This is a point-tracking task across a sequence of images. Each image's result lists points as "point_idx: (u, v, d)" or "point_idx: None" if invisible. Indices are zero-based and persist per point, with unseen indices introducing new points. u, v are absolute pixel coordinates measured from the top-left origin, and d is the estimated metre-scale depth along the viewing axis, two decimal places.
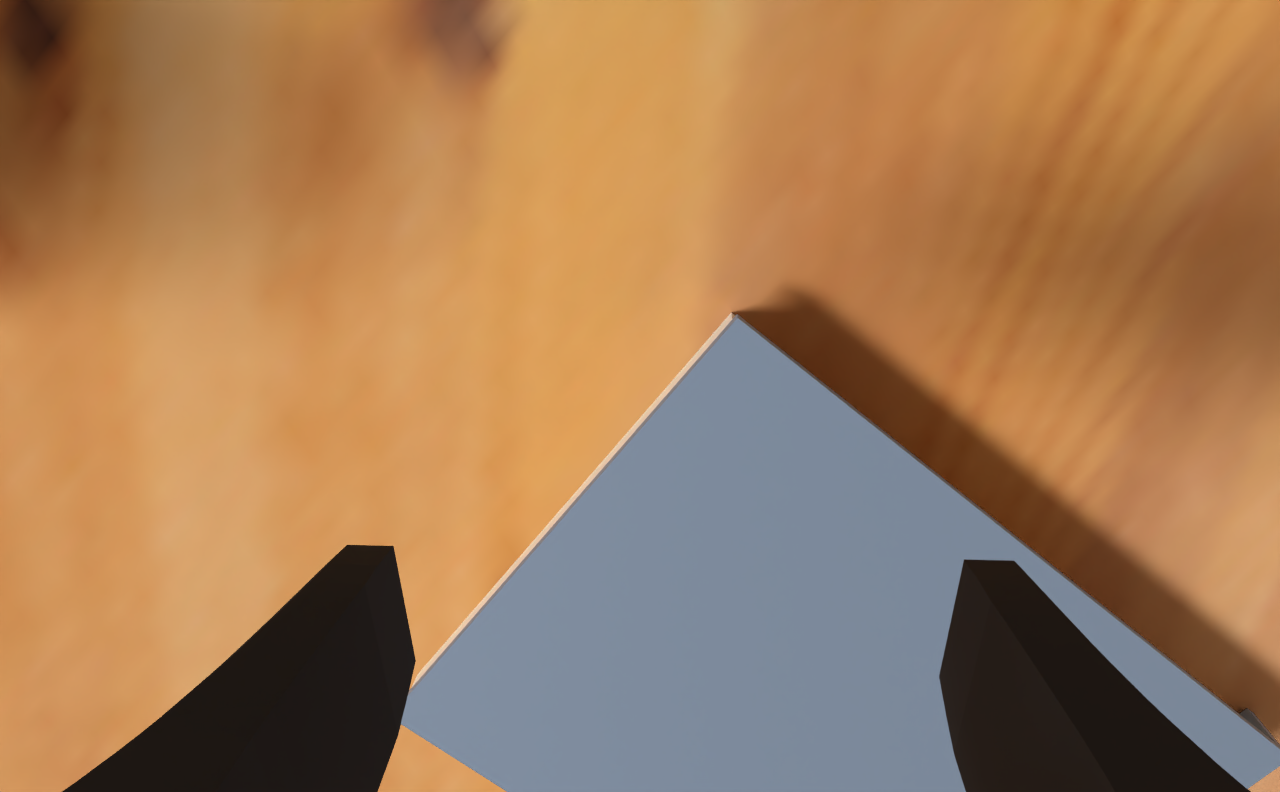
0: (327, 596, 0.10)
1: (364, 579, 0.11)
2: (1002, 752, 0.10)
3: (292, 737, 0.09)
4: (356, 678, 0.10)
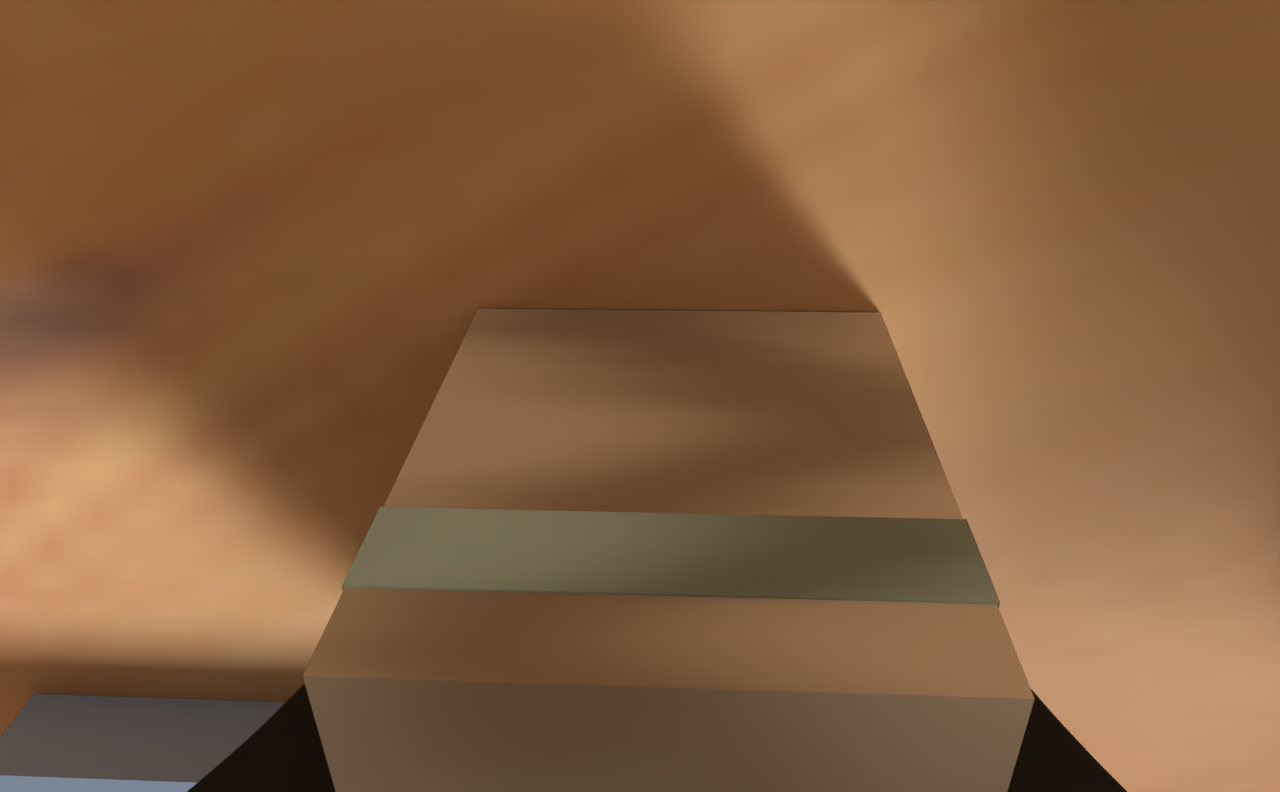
0: None
1: None
2: None
3: None
4: None
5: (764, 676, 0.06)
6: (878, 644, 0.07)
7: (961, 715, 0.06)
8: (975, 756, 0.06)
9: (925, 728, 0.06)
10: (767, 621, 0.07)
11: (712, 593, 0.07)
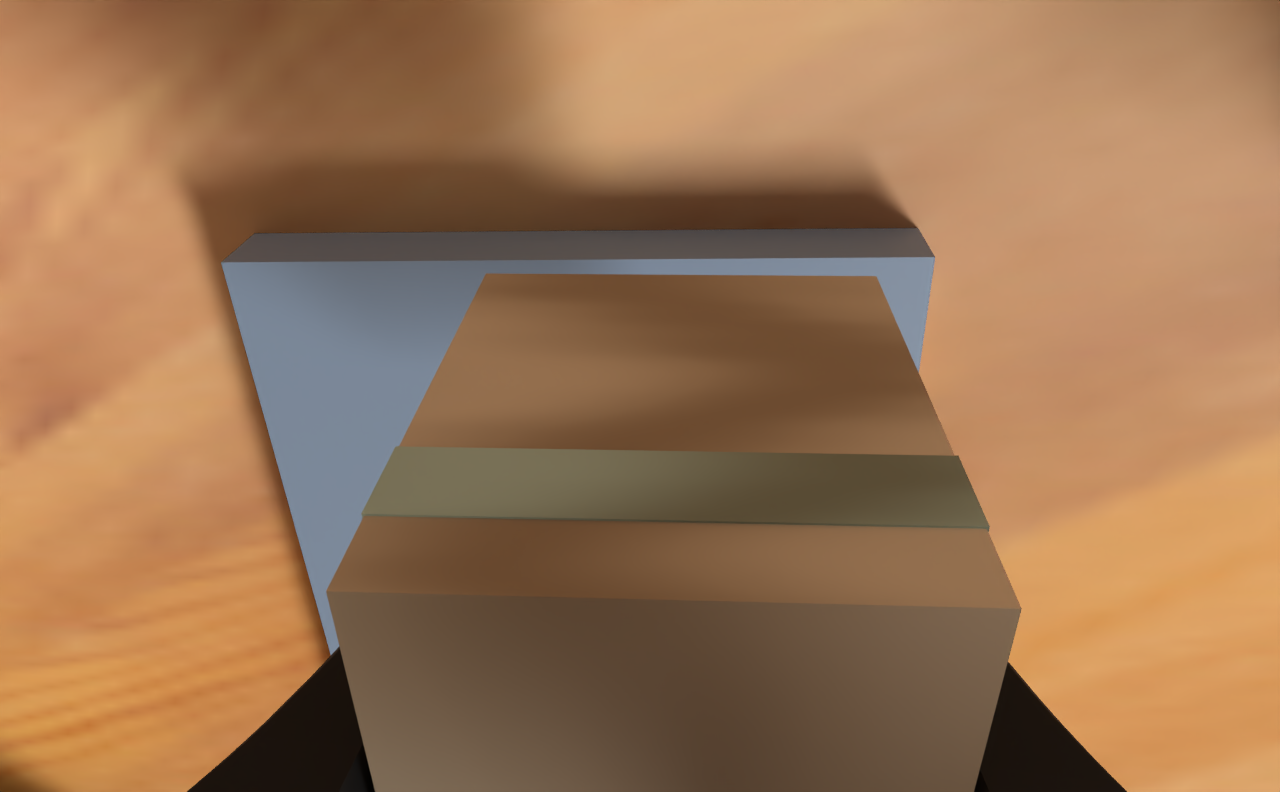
0: None
1: None
2: None
3: None
4: None
5: (764, 589, 0.07)
6: (873, 562, 0.07)
7: (953, 626, 0.07)
8: (967, 668, 0.07)
9: (918, 639, 0.07)
10: (768, 543, 0.07)
11: (717, 521, 0.07)
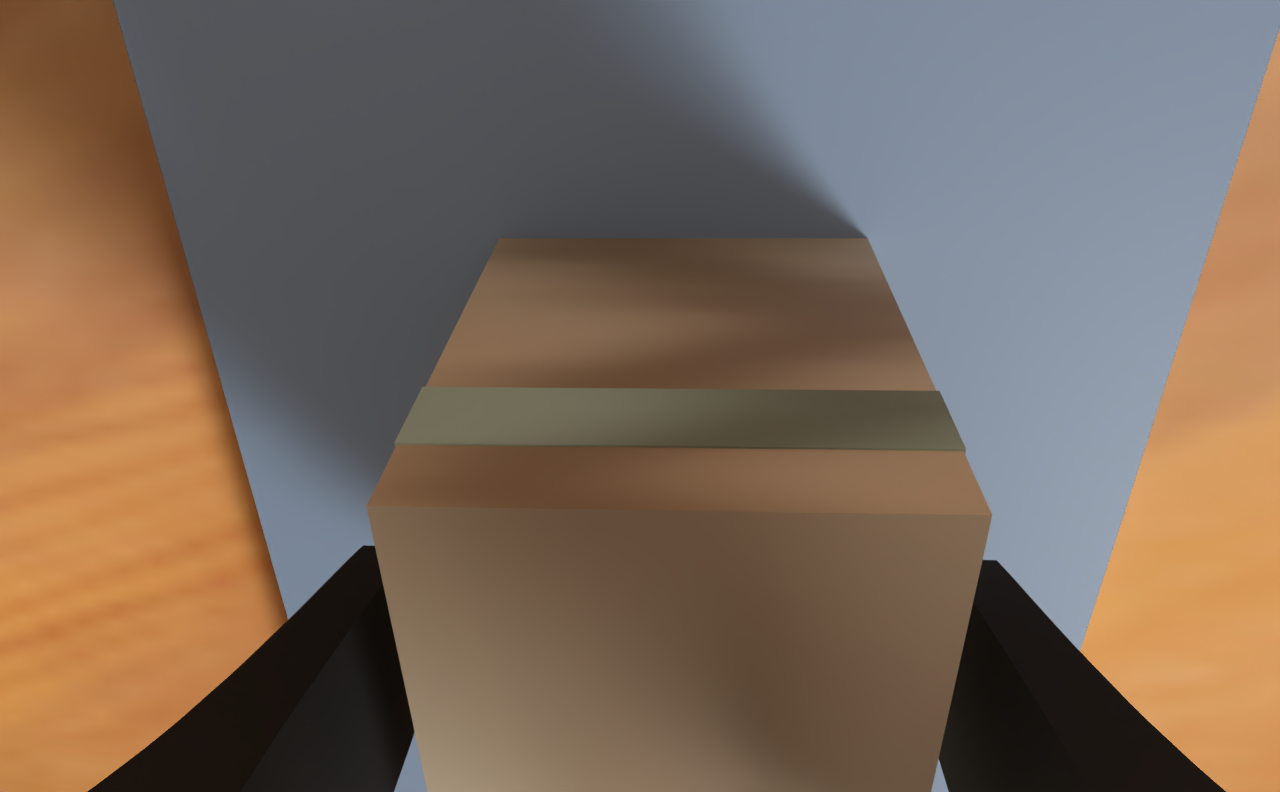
0: (345, 597, 0.10)
1: (381, 579, 0.11)
2: (983, 750, 0.10)
3: (312, 738, 0.09)
4: (373, 679, 0.10)
5: (761, 501, 0.07)
6: (860, 479, 0.08)
7: (932, 532, 0.07)
8: (944, 573, 0.08)
9: (900, 545, 0.07)
10: (765, 464, 0.08)
11: (718, 445, 0.08)
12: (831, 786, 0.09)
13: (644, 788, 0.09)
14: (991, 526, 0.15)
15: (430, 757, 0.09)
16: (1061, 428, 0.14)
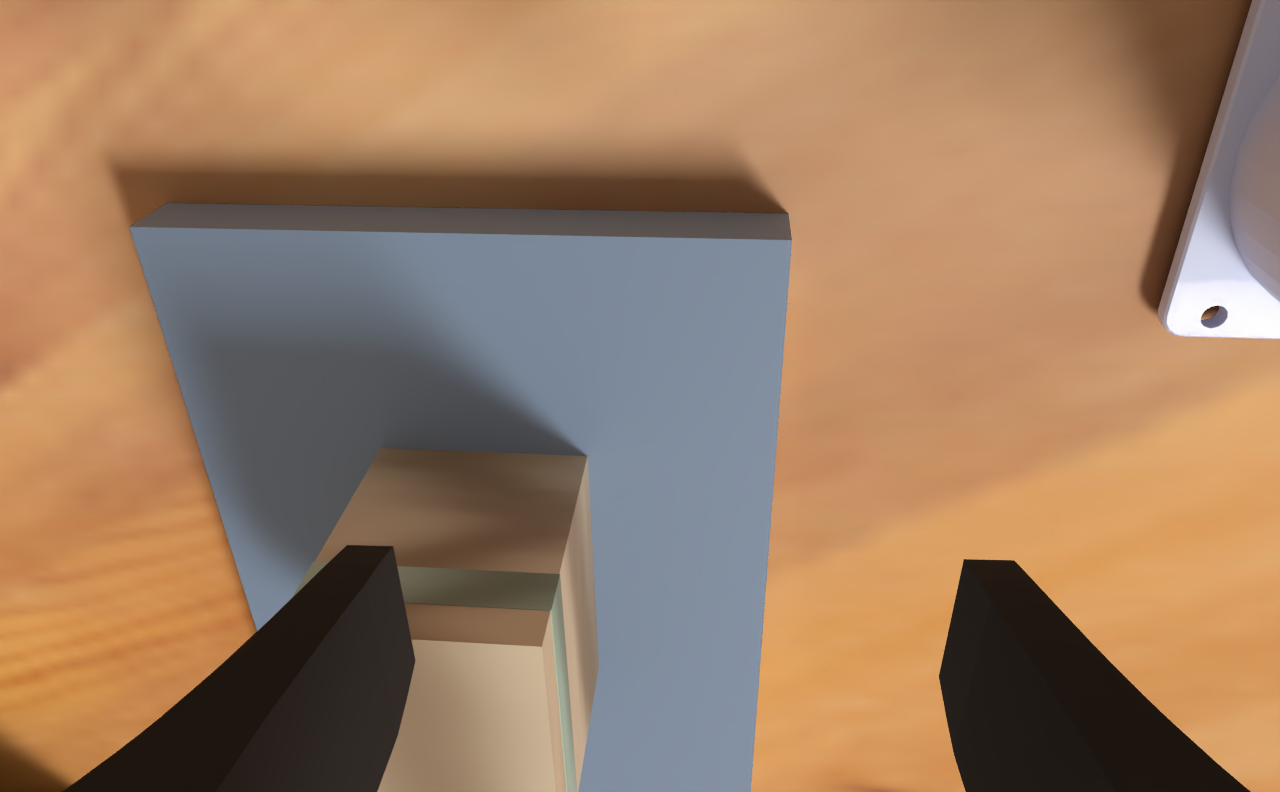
0: (327, 596, 0.10)
1: (364, 579, 0.11)
2: (1003, 751, 0.10)
3: (292, 737, 0.09)
4: (356, 678, 0.10)
5: (445, 636, 0.17)
6: (495, 625, 0.17)
7: (518, 652, 0.17)
8: (528, 669, 0.17)
9: (506, 657, 0.17)
10: (457, 615, 0.17)
11: (440, 603, 0.18)
12: (506, 764, 0.18)
13: (416, 762, 0.19)
14: (686, 610, 0.24)
15: None
16: (715, 556, 0.23)
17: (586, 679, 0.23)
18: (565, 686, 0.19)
